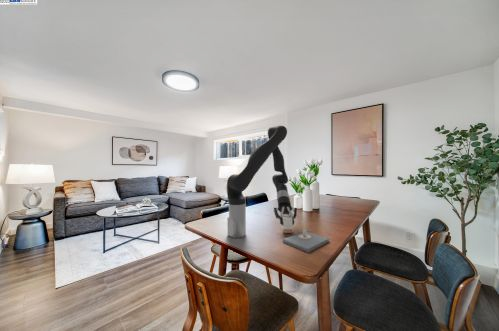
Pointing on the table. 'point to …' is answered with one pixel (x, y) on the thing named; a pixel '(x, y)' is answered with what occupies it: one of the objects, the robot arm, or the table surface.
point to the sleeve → (287, 224)
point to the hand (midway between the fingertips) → (287, 224)
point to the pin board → (306, 241)
